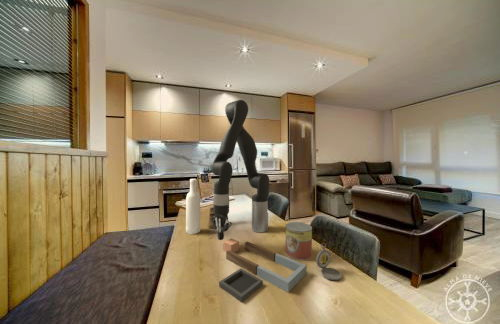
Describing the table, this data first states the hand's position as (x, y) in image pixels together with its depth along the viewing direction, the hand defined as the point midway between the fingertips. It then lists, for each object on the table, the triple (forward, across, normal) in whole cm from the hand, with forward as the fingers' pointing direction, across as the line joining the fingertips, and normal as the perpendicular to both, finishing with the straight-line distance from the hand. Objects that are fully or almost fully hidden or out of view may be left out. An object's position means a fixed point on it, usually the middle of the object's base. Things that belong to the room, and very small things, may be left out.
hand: (220, 239), depth 88 cm
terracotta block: (+3, -7, 0) cm, 8 cm away
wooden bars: (+3, -19, 0) cm, 19 cm away
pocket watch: (+3, -46, -12) cm, 48 cm away
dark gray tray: (+3, -27, +14) cm, 30 cm away
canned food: (+3, -31, -18) cm, 36 cm away
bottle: (+3, +25, 0) cm, 25 cm away
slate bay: (+3, -33, 0) cm, 33 cm away
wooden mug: (+3, +23, -16) cm, 28 cm away
